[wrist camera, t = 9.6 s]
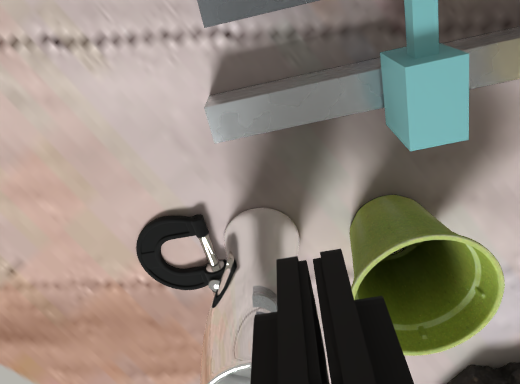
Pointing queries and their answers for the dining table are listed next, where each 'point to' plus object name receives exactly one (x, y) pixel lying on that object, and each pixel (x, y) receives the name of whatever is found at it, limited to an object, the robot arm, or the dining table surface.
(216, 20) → the hole plate
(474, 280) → the plant pot
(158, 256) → the black c clamp
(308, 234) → the dining table surface
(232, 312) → the beer glass
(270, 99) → the rail
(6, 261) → the dining table surface
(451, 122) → the sliding leg
